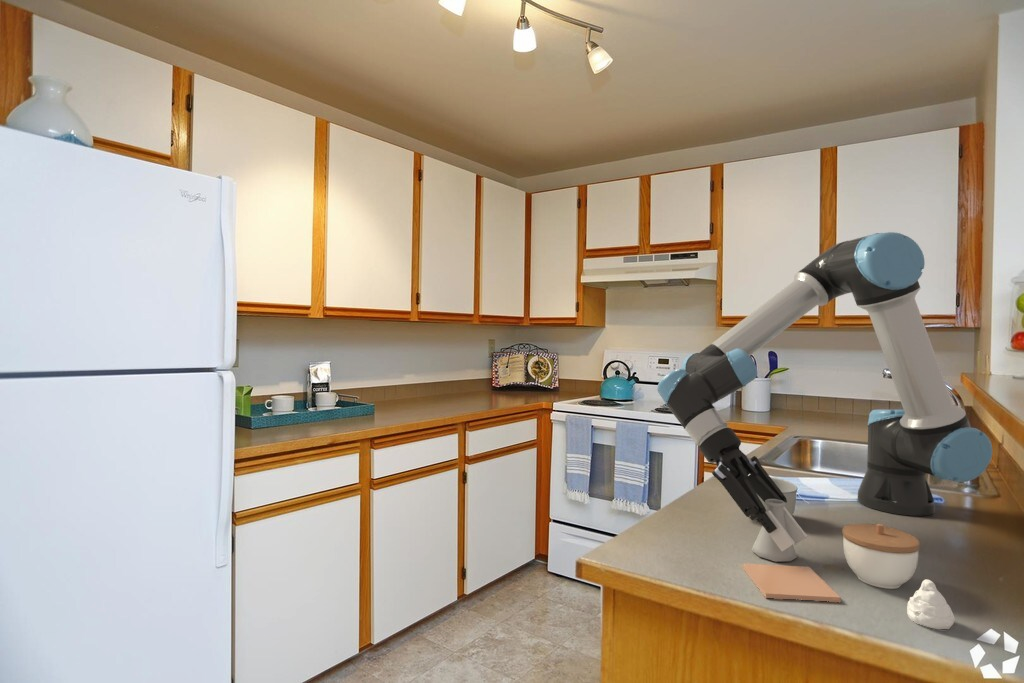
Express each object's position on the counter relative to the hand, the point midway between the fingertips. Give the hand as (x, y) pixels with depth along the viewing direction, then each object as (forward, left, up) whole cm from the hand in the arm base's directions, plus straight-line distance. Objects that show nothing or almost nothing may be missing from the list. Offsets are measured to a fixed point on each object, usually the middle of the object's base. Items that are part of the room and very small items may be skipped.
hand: (794, 543), depth 101 cm
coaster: (+5, +9, -3) cm, 11 cm away
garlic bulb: (-11, +19, -4) cm, 22 cm away
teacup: (-2, -24, -4) cm, 24 cm away
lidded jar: (-11, +6, -4) cm, 13 cm away
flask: (+3, -3, -4) cm, 5 cm away
